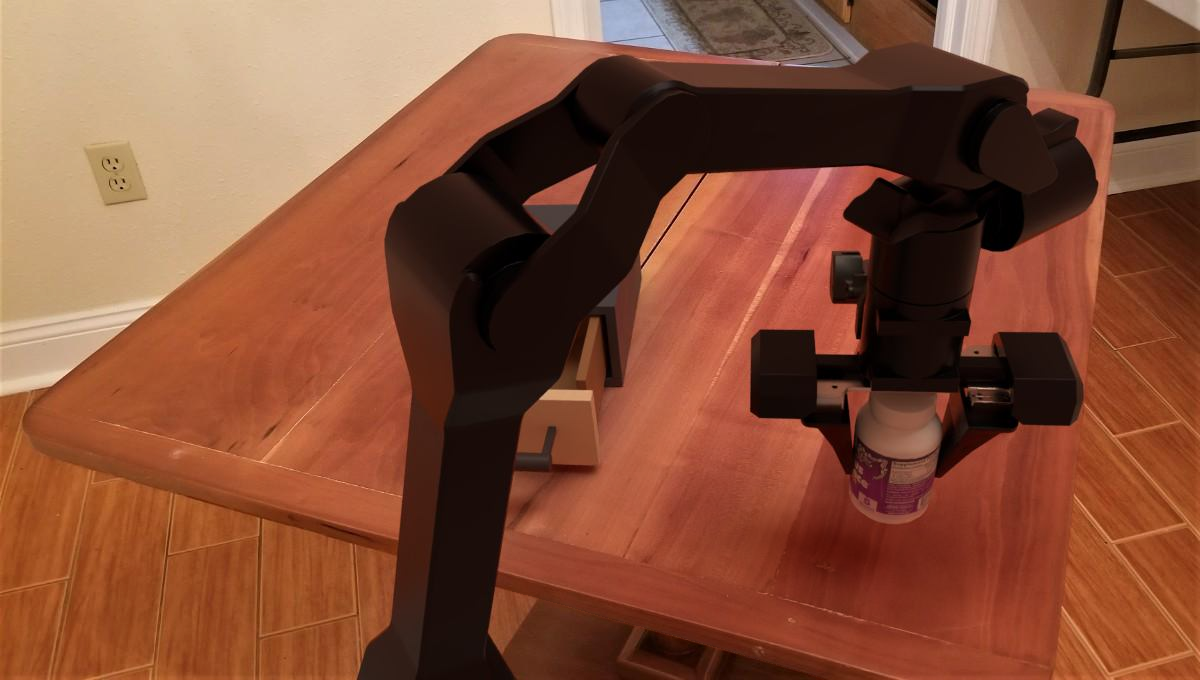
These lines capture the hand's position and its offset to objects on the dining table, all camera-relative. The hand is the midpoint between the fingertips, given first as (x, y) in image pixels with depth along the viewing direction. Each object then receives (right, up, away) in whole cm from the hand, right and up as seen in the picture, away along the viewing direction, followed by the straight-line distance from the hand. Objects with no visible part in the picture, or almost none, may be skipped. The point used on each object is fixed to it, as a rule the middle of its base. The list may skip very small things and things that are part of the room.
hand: (892, 471), depth 62 cm
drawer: (-25, +2, +17) cm, 30 cm away
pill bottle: (0, -2, +2) cm, 3 cm away
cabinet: (-23, +10, +28) cm, 38 cm away
